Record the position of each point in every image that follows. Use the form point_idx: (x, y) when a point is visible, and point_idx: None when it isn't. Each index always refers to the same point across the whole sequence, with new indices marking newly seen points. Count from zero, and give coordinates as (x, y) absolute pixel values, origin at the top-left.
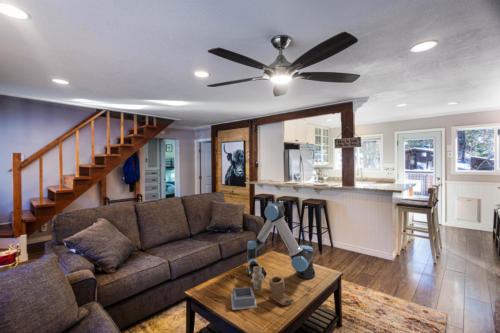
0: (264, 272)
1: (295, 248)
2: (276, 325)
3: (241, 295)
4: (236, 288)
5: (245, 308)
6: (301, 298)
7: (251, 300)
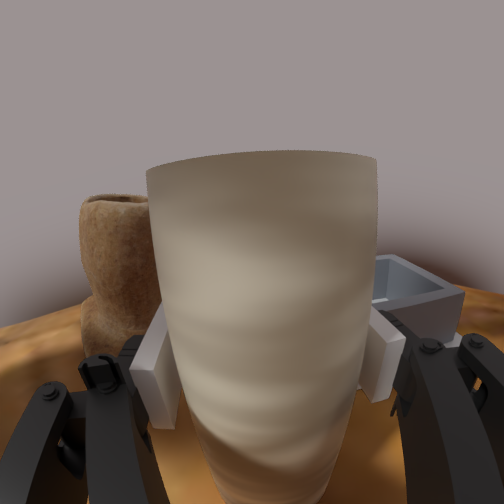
0: (60, 413)
1: None
2: None
3: None
4: (444, 294)
5: None
6: (35, 332)
7: None
